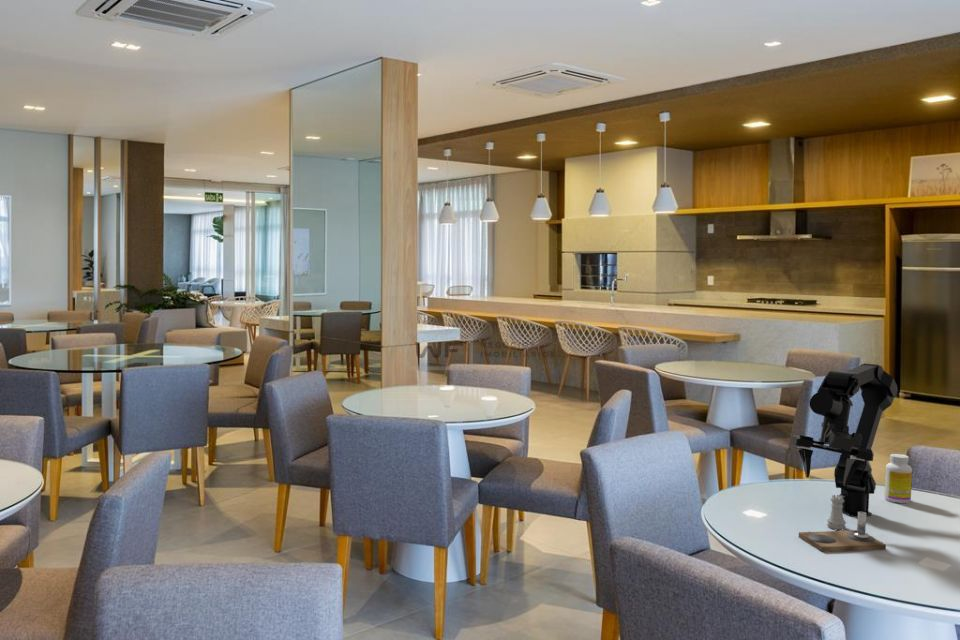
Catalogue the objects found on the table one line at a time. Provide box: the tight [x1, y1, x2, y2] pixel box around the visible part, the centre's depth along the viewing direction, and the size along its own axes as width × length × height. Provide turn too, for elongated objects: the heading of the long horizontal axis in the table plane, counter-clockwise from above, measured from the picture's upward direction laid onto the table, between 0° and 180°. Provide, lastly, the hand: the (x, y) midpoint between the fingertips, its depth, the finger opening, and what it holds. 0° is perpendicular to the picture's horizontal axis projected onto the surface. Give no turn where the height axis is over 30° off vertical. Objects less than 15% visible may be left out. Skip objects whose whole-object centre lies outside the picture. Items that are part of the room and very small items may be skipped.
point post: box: [854, 511, 870, 539], centre depth 191 cm, size 3×3×6 cm
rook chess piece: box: [826, 494, 847, 531], centre depth 202 cm, size 4×4×8 cm
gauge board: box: [798, 529, 887, 553], centre depth 190 cm, size 16×10×1 cm, turn 98°
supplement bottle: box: [884, 453, 913, 504], centre depth 225 cm, size 7×7×13 cm
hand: (826, 481), depth 201 cm, fingers open, 9 cm apart
